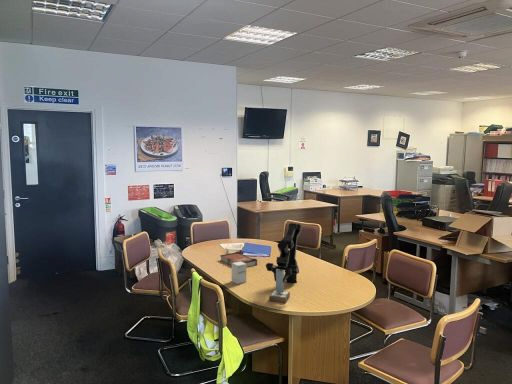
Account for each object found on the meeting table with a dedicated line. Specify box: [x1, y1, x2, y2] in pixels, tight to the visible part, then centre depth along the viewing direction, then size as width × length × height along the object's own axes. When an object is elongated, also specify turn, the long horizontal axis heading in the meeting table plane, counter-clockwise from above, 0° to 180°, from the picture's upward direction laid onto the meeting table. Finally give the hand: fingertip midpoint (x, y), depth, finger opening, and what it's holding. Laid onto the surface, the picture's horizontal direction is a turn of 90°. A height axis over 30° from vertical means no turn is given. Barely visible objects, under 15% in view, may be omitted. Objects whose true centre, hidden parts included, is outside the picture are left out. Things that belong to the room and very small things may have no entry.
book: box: [219, 251, 258, 268], centre depth 305 cm, size 26×18×5 cm
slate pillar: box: [275, 269, 285, 293], centre depth 233 cm, size 5×5×12 cm
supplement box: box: [231, 261, 247, 285], centre depth 262 cm, size 7×7×13 cm
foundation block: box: [268, 289, 291, 304], centre depth 234 cm, size 10×10×3 cm
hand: (279, 281), depth 232 cm, fingers closed on slate pillar, 5 cm apart
